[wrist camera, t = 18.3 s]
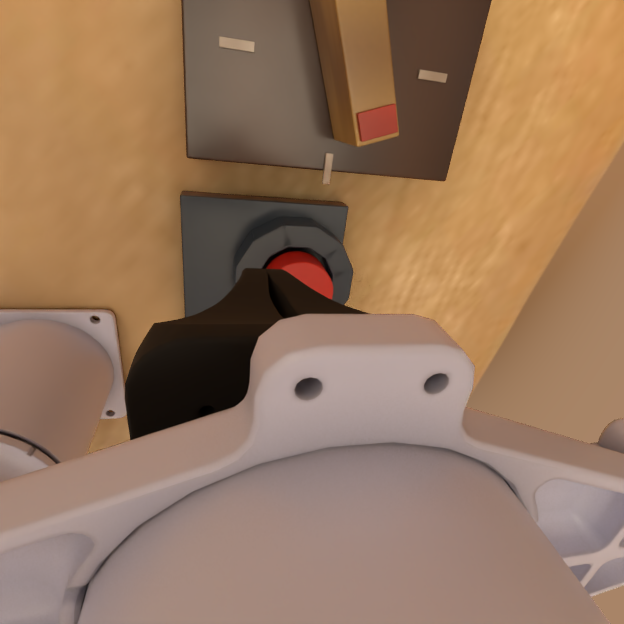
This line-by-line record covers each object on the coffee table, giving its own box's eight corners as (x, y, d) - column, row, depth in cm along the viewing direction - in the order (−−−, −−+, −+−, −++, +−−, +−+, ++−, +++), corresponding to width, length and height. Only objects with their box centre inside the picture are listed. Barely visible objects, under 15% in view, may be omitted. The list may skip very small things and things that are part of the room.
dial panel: (190, 163, 20) (186, 172, 17) (182, -107, 15) (175, -152, 13) (417, 183, 23) (444, 193, 20) (467, -37, 19) (510, -61, 16)
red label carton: (304, -23, 15) (328, -57, 12) (348, -33, 15) (383, -69, 12) (333, 140, 18) (358, 148, 15) (369, 130, 18) (402, 136, 15)
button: (260, 310, 22) (263, 325, 20) (263, 249, 20) (267, 260, 19) (321, 310, 23) (328, 324, 21) (329, 251, 21) (338, 263, 20)
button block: (187, 322, 24) (183, 347, 22) (181, 190, 21) (176, 202, 18) (329, 321, 26) (341, 344, 24) (346, 202, 23) (363, 214, 20)
